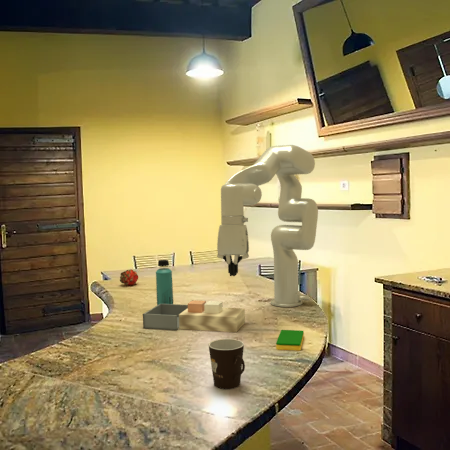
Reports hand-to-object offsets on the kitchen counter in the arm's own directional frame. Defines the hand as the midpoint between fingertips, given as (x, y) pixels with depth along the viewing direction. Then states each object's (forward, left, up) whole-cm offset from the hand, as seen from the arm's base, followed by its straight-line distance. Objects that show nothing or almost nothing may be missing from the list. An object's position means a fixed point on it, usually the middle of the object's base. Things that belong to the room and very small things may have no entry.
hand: (233, 275), depth 174 cm
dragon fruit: (+69, -61, -18) cm, 94 cm away
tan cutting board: (+8, 0, -18) cm, 20 cm away
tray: (+24, 0, -18) cm, 30 cm away
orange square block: (+13, 0, -13) cm, 19 cm away
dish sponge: (-21, +13, -19) cm, 31 cm away
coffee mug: (-11, +50, -18) cm, 54 cm away
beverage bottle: (+32, -16, -18) cm, 40 cm away
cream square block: (+7, 0, -13) cm, 15 cm away
